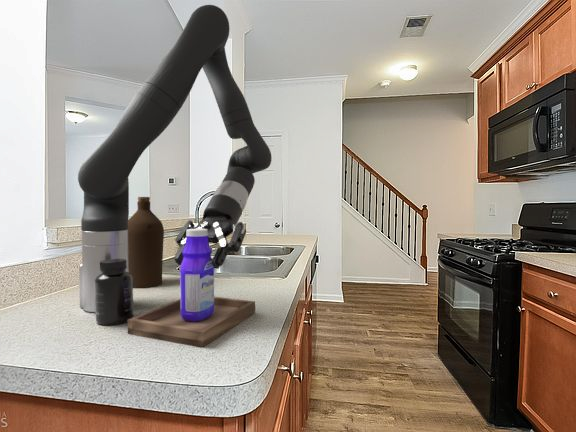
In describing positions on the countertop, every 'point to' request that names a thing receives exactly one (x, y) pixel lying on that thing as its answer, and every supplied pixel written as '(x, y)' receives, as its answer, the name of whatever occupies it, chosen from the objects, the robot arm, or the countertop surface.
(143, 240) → the olive oil
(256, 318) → the countertop surface
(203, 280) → the bottle
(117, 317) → the supplement bottle
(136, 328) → the walnut tray
